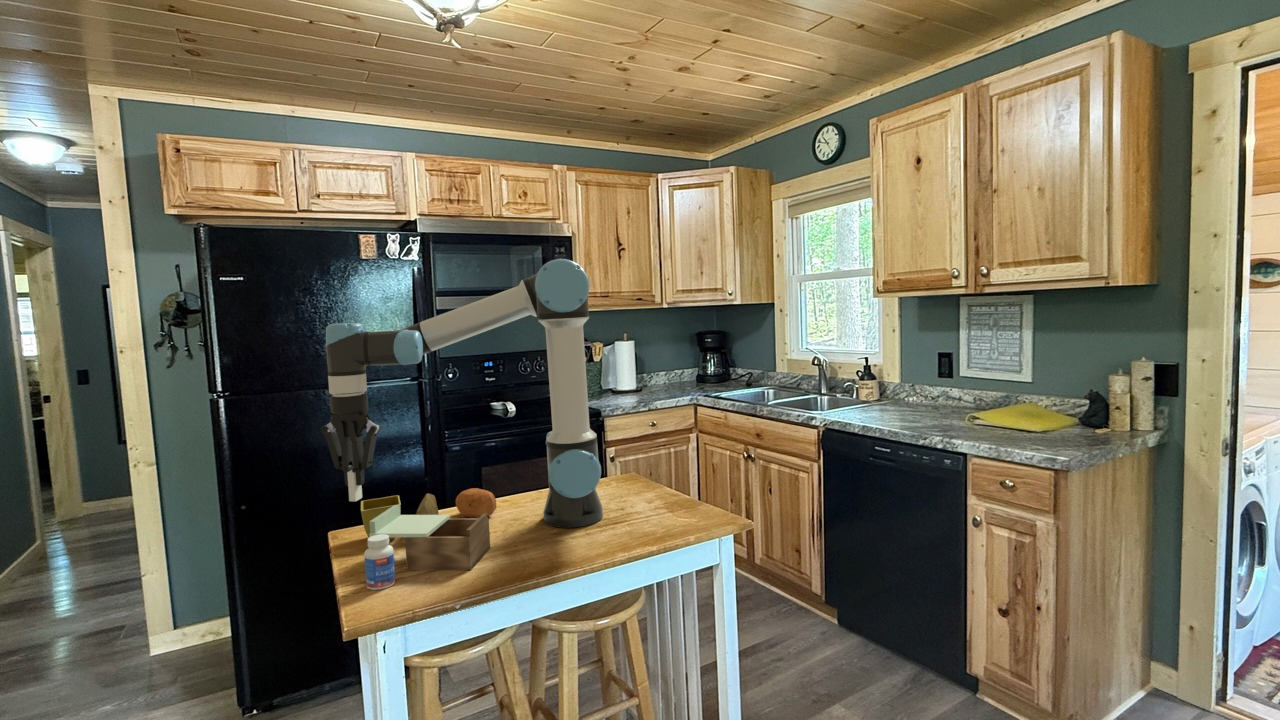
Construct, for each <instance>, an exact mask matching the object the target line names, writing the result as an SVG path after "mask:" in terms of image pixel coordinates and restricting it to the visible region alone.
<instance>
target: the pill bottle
mask: <svg viewBox="0 0 1280 720" xmlns="http://www.w3.org/2000/svg"><path fill="white" fill-rule="evenodd" d="M367 547H368V548H366V550H365V551H364V557H363V558H364V569H365V585H366V588H367V589H369V590H370V591H379V590H384V589H388V588H389V587H392V586H393V585H394V584H395V582H396V574H395V557H394V555H395V554H394V547H393V546H392V545H390V540H389V536H388V535H386V534H379V535H374V536H371V537H367Z"/></svg>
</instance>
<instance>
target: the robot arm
mask: <svg viewBox="0 0 1280 720" xmlns="http://www.w3.org/2000/svg"><path fill="white" fill-rule="evenodd" d="M590 288H591V287H590V280H589V276H588V275H587V273H586V271H585V270H584V268H583V267H582V266H581V265H580V264H579V263H577V262H575V261H574V260H570V259H567V258H557V259H551V260H549V261H548V262H546V263H544V264H543V265H542V266H541V267H540V268H539V270H538V271H537V273H535V274H533V275H532V276H529V277H527V278H525V279H521V280H520V282H519V285H517V286H514V287H512V288H508V289H506V290H504V291H503V290H502V291H501V292H498V293H495V294H493V295H489V296H487V297H485V298H482V299H480V300H476V301H474V302H471V303H468V304H466V305H463V306H459V307H457V308H455V309H453V310H449V311H447V312H444V313H441V314H438V315H436V316H433V317H430V318H428V319H424V320H422V321H420V322H418V323H414V324H412V325H409V326H406V327H404V328H400V329H396V330H383V331H382V330H381V331H366V330H365V329H364V325H363V324H362V323H360V322H350V323H349V322H347V323H346V322H344V323H343V322H342V323H341V322H340V323H330V324H328V325H327V326H326V328H325V345H324V346H325V351H326V361H327V362H326V363H327V379H328V393H329V394H330V395H331V396H330V397H329V407H330V413H331V417H330V421H329V423H327V424H326V425H323V426H321V427H320V432H321V433H322V434H323V436H324V437H325V440H326V443H327V446H328V449H329V452H330V457H331V460H332V463H333V466H334V468H335V469H336V470H337V469H339V470H341V471H343V476H344V477H343V478H344V484H345V485H344V486H347V487H348V490H347V491H348V501H349V502H357V501H359V500H361V499H362V498H363V488H362V485H364V484H365V480H366V479H365V469H367V468H370V467H371V466H372V465H373V463H374V456H375V449H376V443H377V440H378V439H377V437H378V435H379V432H380V430H381V428H382V425H381V423H378V424H376V423H374V422H373V421H372V420H371V417H370V415H369V413H368V412H369V397H368V394H367V393H365V392H367V391H368V388H367V387H368V386H367V385H368V383H367V371H366V370H367V369H366V368H367V367H372V366H395V365H396V366H398V365H402V366H408V365H415V364H419V363H421V362H422V360H423V356H424V355H426V354H429V353H431V352H434V351H436V350H439V349H443V348H444V347H446V346H449V345H452V344H455V343H458V342H461V341H464V340H466V339H469V338H471V337H474V336H477V335H480V334H481V333H484V332H485V333H486V332H487V331H490V330H492V329H496V328H498V327H501V326H504V325H506V324H509V323H512V322H514V321H517V320H519V319H522V318H525V317H528V316H533V317H535V318H537V321H538V323H540V324H541V325H542V326H543V327H544V330H545V340H546V341H545V342H546V354H547V355H546V356H547V357H546V358H547V368H548V369H547V370H548V381H549V384H548V385H549V396H550V398H549V399H550V410H551V424H552V425H551V426H552V427H551V428H552V430H551V431H549V432H547V434H546V440H545V445H546V457H547V459H546V460H547V474H548V493H547V497H546V501H545V505H544V509H543V521H544V523H545V524H546V525H548V526H550V527H555V528H561V529H562V528H563V529H565V528H567V529H569V528H570V529H572V528H579V527H580V528H581V527H586V526H589V525H593V524H596V523H597V522H599V521H601V520H602V518H603V517H604V512H603V510H604V508H603V505H602V503H601V500H600V499H601V498H600V497H599V495H598V492H597V490H596V488H597V487H598V485H599V483H600V481H601V476H602V465H601V462H600V461H599V452H598V451H599V450H598V436H597V433H596V432H595V431H594V430H592V429H591V426H590V425H591V424H590V412H589V411H590V410H589V396H588V381H587V367H586V349H585V336H584V325H585V324H586V323H587V321H588V320H589V319H590V311H589V293H590ZM365 430H366V432H367V433H366V435H365V434H364V432H365ZM364 438H365V440H364ZM364 441H365V442H364Z"/></svg>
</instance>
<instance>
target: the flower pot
mask: <svg viewBox="0 0 1280 720" xmlns="http://www.w3.org/2000/svg"><path fill="white" fill-rule="evenodd" d="M400 499H401V498H400V495H398V494H397V495H396V494H395V495H391V496H385V497H380V498H379V497H378V498H371V499H366V500H361V501H360V513H361V518H362V519H361V520H362V523H363V528H364V531H365V533H366V535H367V538H369V533H370V524H369V521H371V520H372V519H374V518H376V517H377V516H379V515H380V514H382V513H383V512H385V511H386V510H388V509H389V508H391V507H392V506H394V505H400V514H401V509H402V507H401V505H402V504H401V500H400ZM401 515H402V514H401ZM396 538H397V537H389V541H391V540H395V539H396Z"/></svg>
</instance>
